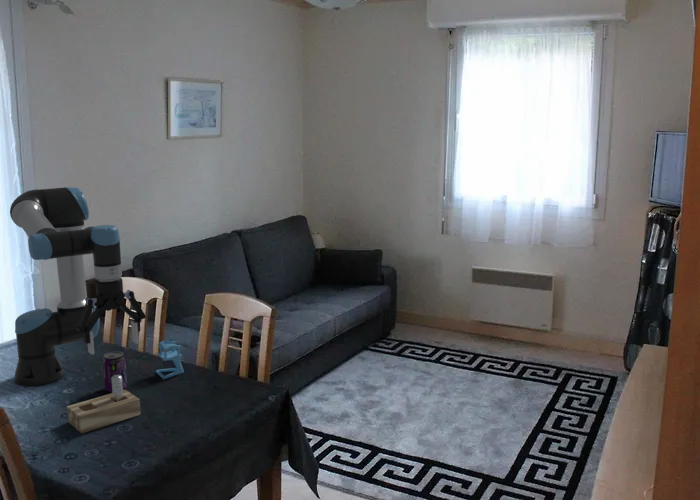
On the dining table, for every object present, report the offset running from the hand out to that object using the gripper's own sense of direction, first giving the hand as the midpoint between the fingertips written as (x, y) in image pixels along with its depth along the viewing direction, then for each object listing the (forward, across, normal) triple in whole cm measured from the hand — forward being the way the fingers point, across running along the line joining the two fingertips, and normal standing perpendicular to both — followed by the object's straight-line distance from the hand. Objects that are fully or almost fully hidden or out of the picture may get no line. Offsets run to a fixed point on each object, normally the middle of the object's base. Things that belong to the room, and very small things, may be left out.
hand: (113, 347), depth 203 cm
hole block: (+21, -5, 0) cm, 22 cm away
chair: (+22, +27, +18) cm, 39 cm away
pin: (+21, 0, 0) cm, 21 cm away
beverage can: (+22, +7, +18) cm, 29 cm away
